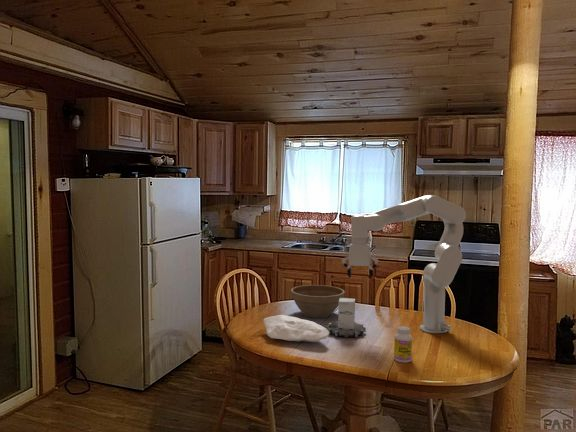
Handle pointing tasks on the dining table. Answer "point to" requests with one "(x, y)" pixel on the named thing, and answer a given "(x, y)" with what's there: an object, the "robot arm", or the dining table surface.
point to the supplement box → (346, 313)
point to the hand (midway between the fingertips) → (360, 277)
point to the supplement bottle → (403, 345)
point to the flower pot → (317, 299)
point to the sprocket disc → (346, 330)
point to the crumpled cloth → (294, 329)
